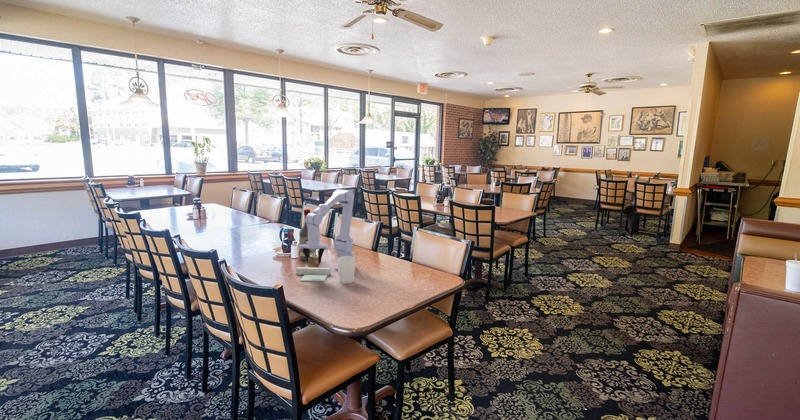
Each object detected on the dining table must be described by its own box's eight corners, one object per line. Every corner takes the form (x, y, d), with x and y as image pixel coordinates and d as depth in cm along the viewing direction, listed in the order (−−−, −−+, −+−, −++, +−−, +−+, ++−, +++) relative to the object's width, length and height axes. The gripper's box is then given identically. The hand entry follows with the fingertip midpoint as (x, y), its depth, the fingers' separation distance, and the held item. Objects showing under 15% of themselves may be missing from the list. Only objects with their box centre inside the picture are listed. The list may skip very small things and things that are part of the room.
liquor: (299, 257, 231) (298, 208, 227) (314, 256, 234) (314, 208, 229) (300, 261, 223) (299, 211, 218) (316, 260, 225) (315, 210, 221)
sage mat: (327, 276, 198) (327, 274, 198) (324, 281, 189) (324, 280, 189) (304, 275, 198) (304, 274, 198) (300, 281, 189) (300, 280, 189)
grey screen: (330, 274, 200) (330, 268, 200) (330, 275, 199) (330, 268, 199) (296, 273, 200) (296, 267, 200) (296, 274, 199) (295, 268, 199)
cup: (358, 280, 193) (358, 257, 191) (350, 285, 184) (350, 262, 182) (342, 277, 195) (342, 255, 194) (334, 283, 187) (333, 260, 185)
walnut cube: (320, 264, 195) (320, 254, 194) (318, 267, 190) (317, 257, 189) (310, 264, 195) (310, 254, 194) (308, 267, 190) (307, 256, 189)
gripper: (297, 238, 186) (297, 265, 188) (326, 239, 186) (326, 265, 188) (300, 235, 193) (301, 260, 195) (329, 235, 193) (329, 261, 195)
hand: (314, 262), depth 192 cm, fingers closed on walnut cube, 5 cm apart
